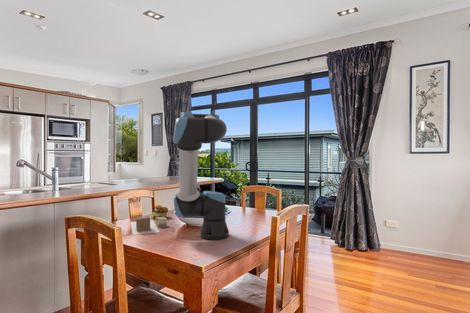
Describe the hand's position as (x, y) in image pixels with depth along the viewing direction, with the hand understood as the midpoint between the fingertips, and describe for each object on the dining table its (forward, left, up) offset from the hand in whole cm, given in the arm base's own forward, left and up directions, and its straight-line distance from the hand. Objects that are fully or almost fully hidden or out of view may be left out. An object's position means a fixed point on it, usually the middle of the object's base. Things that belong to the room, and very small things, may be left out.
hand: (186, 176), depth 182 cm
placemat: (+3, +25, -29) cm, 39 cm away
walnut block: (-4, +26, -22) cm, 34 cm away
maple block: (+1, +16, -29) cm, 33 cm away
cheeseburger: (+26, +13, -30) cm, 41 cm away
